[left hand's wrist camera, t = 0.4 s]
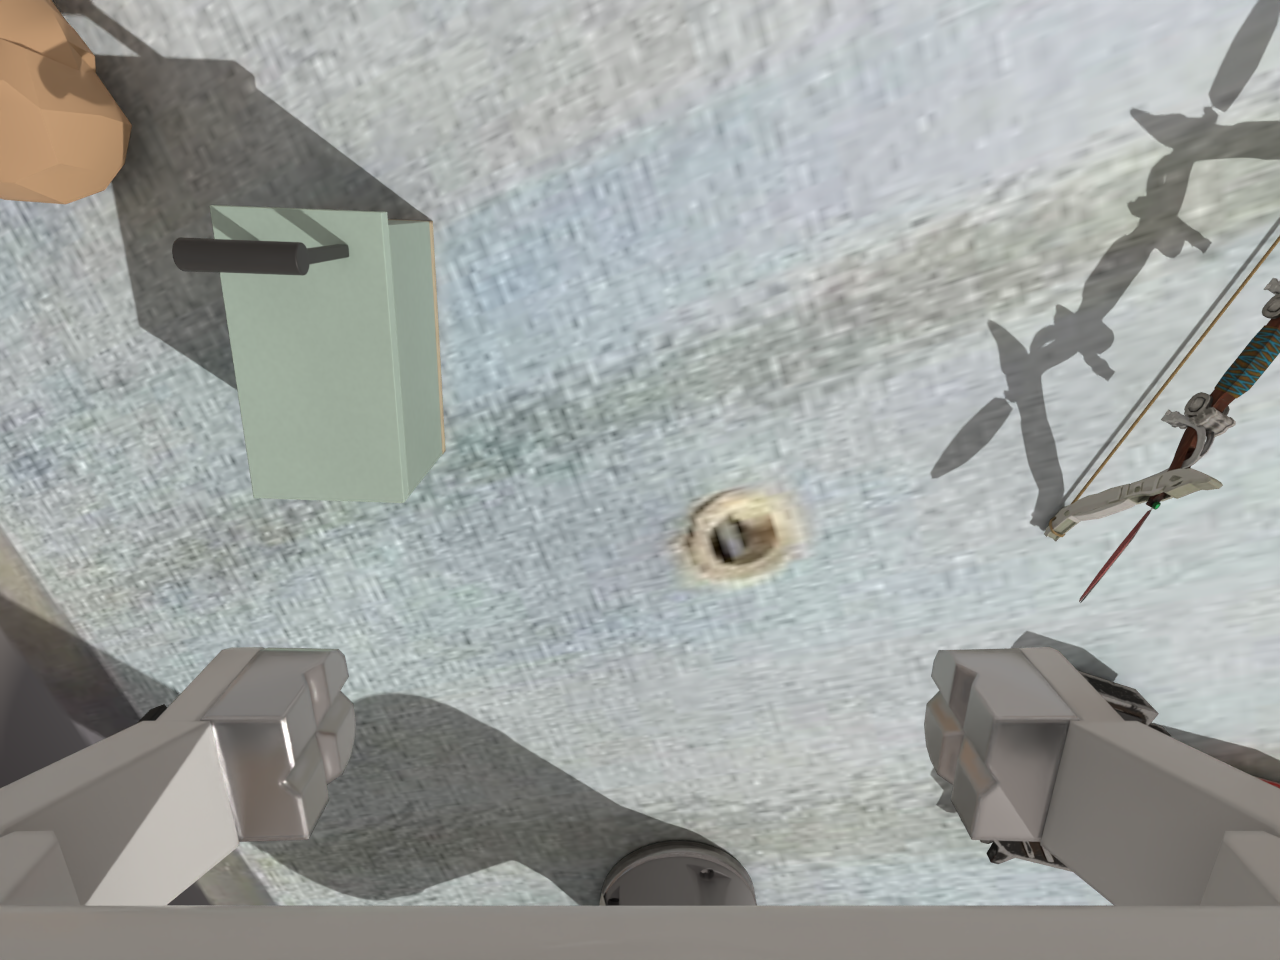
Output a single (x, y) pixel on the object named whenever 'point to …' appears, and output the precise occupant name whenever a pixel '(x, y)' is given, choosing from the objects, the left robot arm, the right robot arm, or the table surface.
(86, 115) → the squash
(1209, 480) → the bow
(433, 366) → the chest
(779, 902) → the table surface
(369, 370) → the lid
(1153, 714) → the gun
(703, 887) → the right robot arm
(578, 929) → the left robot arm
